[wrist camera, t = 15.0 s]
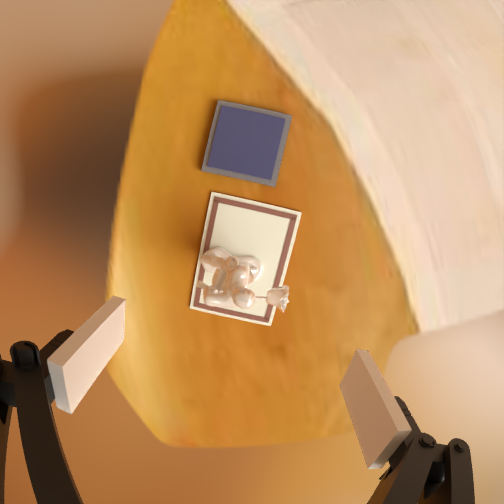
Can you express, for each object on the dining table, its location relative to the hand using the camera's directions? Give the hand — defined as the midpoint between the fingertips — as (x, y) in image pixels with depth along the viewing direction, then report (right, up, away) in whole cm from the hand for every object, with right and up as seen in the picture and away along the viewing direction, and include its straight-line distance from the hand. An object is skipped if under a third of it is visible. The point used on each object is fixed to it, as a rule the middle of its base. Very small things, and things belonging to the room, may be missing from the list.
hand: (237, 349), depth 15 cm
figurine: (0, +4, +18) cm, 19 cm away
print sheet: (0, +4, +19) cm, 19 cm away
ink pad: (0, +17, +15) cm, 23 cm away
